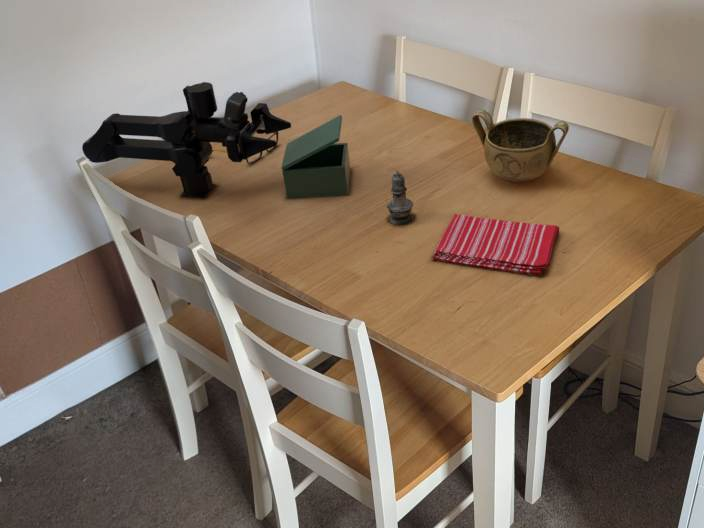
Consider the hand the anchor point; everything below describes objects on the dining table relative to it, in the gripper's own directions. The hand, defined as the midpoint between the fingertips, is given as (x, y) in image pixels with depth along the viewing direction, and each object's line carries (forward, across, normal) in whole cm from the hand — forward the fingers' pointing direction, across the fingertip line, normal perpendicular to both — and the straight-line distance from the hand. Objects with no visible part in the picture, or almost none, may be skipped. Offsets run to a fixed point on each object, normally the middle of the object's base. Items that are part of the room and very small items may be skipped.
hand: (283, 134), depth 180 cm
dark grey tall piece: (+28, -5, +16) cm, 33 cm away
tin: (+4, +8, +16) cm, 19 cm away
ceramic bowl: (+51, +18, +16) cm, 56 cm away
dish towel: (+51, -13, +16) cm, 55 cm away
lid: (+4, +8, +6) cm, 10 cm away
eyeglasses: (-22, +22, +17) cm, 35 cm away
